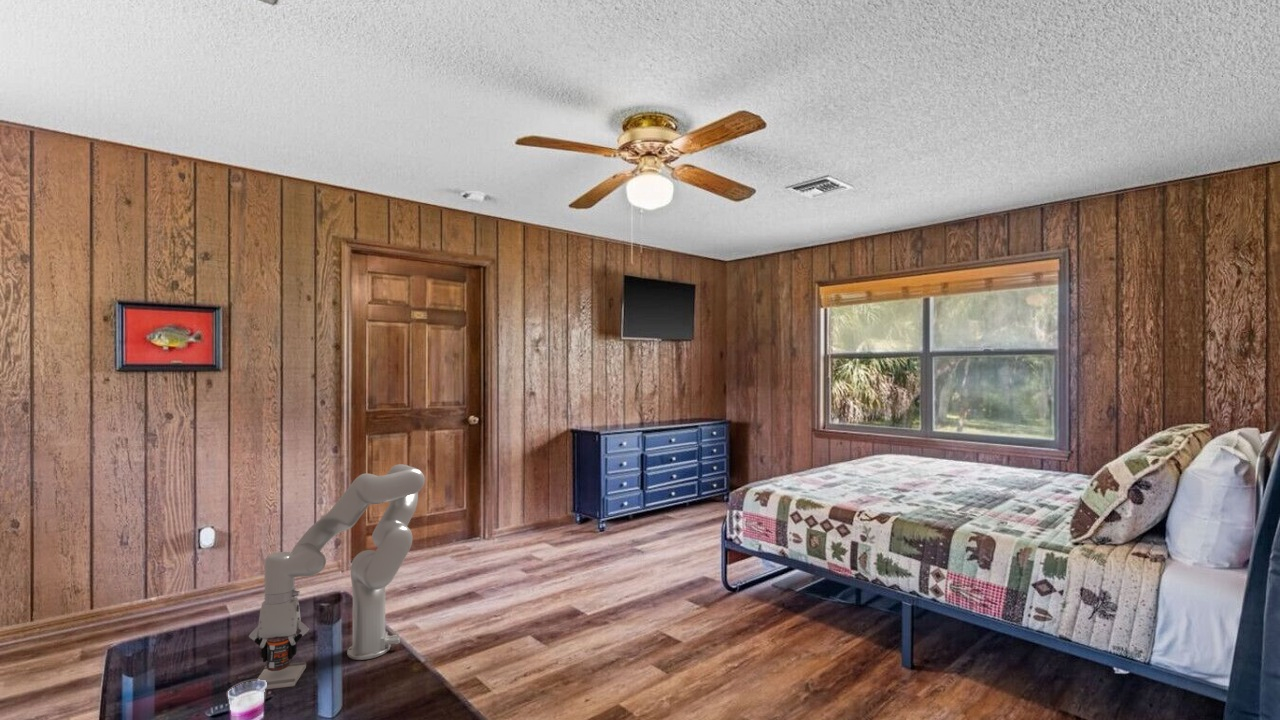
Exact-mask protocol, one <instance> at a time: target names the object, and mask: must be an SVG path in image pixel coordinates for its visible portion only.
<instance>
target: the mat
mask: <svg viewBox="0 0 1280 720" xmlns="http://www.w3.org/2000/svg"><path fill="white" fill-rule="evenodd" d="M306 668H307V661H300V662H299V661H298V662H290V665H289V666H288V667H287V668H285V669H282V670H279V671H270V670H268V669H267V665H265V666H264V668H263V670H262V671H261V672H260V674H259V676H258V677H257V679H255V681H256V680H258V679H260V680H266V682H267V689H266V690H271V689H281V688H288V687H295V686H296V685H297V682H298V681H299V679H300V678H301V676H302V675H303V673H304V672H305V669H306Z"/></svg>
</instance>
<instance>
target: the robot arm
mask: <svg viewBox="0 0 1280 720" xmlns="http://www.w3.org/2000/svg"><path fill="white" fill-rule="evenodd" d="M387 472H388V473H387V474H383V475H376V474H373V473H366V472H365V473H362V474H360V475H358V476H356V478H355V479H354V480H353V481H352V482H351V483H350V485H349V486H348V488H347V489H346V490H345V491H344V493H342V495H341V496H340V498H339V499H338V500H337V501H336V503H335V504H333V506H332V507H331V508H330V509H329V511H328V512H327V513H326V514H325V515H323V516H322V517H321V518H320V519H318V520H317V521H316V522H315V523H314V524H312V525H311V527H309V528H308V529H307V530H306V532H305V533H304V534H303V535H302V536H301V537H300V538H299V540H298V541H297V543H296V544H295V545H294V547H293V548H292V551H291V552H290V551H279V552H275V553H271V554H269V555H268V556H267V557H266V558H265V560H264V601H263V602H262V603H261V607H260V611H259V618H258V625H257V627H255V629H253V630H252V631H251V632H250V634H249V635H248V638H249V639H251V640H252V641H253V642H254V643H255V644H256V645H258V646H259V648H260V649H261V652H260V653H261V654H260V657H261V659H262V662H263V663H267V642H268V638H273V637H288V639H289V641H290V645H289V659H290V660H293V658H294V656H296V654H297V653H298V652H297V648H298V647H297V643H298V642H299V641H300V640H301V638H302V637H303V636H305V634H307V633H308V632H309V630H310V627H308V626H307V625H306V624H304V622H302V621H301V620H302V619H301V611H300V603H299V598H298V596H300V593H301V591H300V590H296V587H295V579H296V578H300V577H311V576H316V575H317V574H320V573H321V572H322V571H323V570H324V568H325V566H326V564H327V559H326V556H325V555H324V553H323V552H322V549H324V547H325V546H326V545H327V544H328V542H330V540H331V539H333V538H334V537H335V536H336V535H338V534H340V533H342V532H344V531H348V530H349V529H351V528H353V527H354V526H355V525H356V524H357V522H358V521H359V519H360V518H361V517H362V515H363V514H364V513H365V512H366V510H367V509H368V508H369V507H370V505H378V504H383V503H387V502H389V503H388V506H386V510H385V511H384V513H383V514H382V516H381V517H380V519H379V521H378V523H377V524H376V526H375V528H374V530H373V531H372V534H371V535H372V537H371V539H372V540H371V541H372V542H373V544H374V546H375V547H377V549H376V550H373V549H367V550H362V551H360V552H359V553H357V554H356V556H354V558H353V559H352V560H351V564H350V580H351V588H352V589H351V590H352V645H351V646H350V647H349V648H348V649H347V651H346V653H347V657H348V658H350V659H352V660H355V661H356V660H357V661H361V660H362V661H365V660H370V659H371V660H372V659H375V658H378V657H380V656H382V655H385V654H386V653H387V652H389V650H390V649H391V645H398V644H400V642H401V637H400V636H398V635H397V634H394V635H389V632H388V631H387V630H386V587H387V586H388V585H389V584H390V583H392V581H393V580H394V578H395V577H396V575H397V574H398V572H399V570H400V568H401V567H402V564H403V563H404V561H405V559H406V557H407V556H408V554H409V552H410V551H411V547H412V545H413V539H414V538H413V533H412V530H411V529H410V527H408V526H409V523H410V522H411V519H412V518H413V516H414V513H415V512H416V509H417V507H418V502H419V492H420V491H421V490H422V489H423V487H424V485H425V482H426V479H425V478H426V477H425V475H424V473H423V472H422V470H420V469H418V468H416V467H414V466H410V465H407V464H402V463H399V464H395V465H393V466H392V467H391V468H390V469H389V470H388V471H387ZM298 630H300V632H299V633H298V634H297V631H298Z"/></svg>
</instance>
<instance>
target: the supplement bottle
mask: <svg viewBox="0 0 1280 720" xmlns="http://www.w3.org/2000/svg"><path fill="white" fill-rule="evenodd" d="M289 645H290V641H289V639H288V637H273V638H268V642H267V661H266V666H267V669H268V670H270V671H279V670H282V669H285V668H287V667H288V666H289V665H290V663H291V659H289Z"/></svg>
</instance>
